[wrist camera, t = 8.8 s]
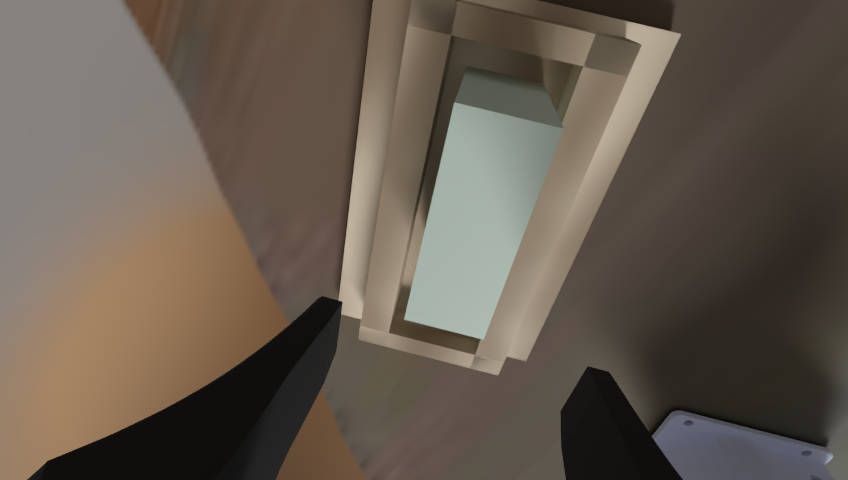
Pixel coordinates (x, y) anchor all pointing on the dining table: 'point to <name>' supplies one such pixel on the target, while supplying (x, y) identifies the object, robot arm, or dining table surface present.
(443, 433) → the dining table surface
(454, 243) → the pale teal block
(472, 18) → the beige rectangular tray
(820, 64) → the dining table surface
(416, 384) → the dining table surface
